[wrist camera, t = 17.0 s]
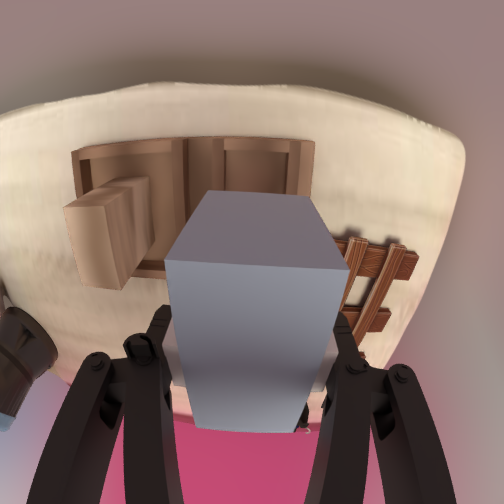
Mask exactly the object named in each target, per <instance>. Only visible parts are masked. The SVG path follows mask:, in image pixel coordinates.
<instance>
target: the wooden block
mask: <svg viewBox="0 0 504 504" xmlns="http://www.w3.org/2000/svg"><path fill="white" fill-rule="evenodd" d="M63 209H64V214H65V220H66V224H67V229H68V233H69V238H70V242H71V246H72V250H73V254H74V258H75V261H76V265H77V268H78V272H79V275H80V278H81V282H82V285H83V286H90V287H98V288H107V289H115V290H122V288H123V287H124V285H125V284H126V282H127V281H128V279H129V278H130V276H131V275H132V273H133V272H134V270H135V269H136V267H137V266H138V265H139V263H140V262H141V260H142V259H143V257H144V256H145V255H146V253H147V252H148V250H149V249H150V248H151V246H152V245H153V244H154V242H155V233H154V224H153V215H152V204H151V192H150V178H149V176H140V177H121V178H113V179H112V180H110V181H108V182H106V183H104V184H102V185H101V186H99V187H97V188H95V189H93V190H92V191H90V192H88V193H86V194H85V195H83V196H81V197H80V198H78V199H76V200H75V201H73V202H71V203H70V204H68V205H67V206H65V207H63Z"/></svg>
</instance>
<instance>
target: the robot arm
mask: <svg viewBox="0 0 504 504" xmlns="http://www.w3.org/2000/svg"><path fill="white" fill-rule="evenodd" d="M123 347H124V350H125V352H126V354H127V358H121V359H110V357H109V356H108V355H107V354H106V353H103V352H95V353H91V354H90V355H88V356H87V357H86V358H85V360H84V361H83V363H82V365H81V367H80V369H79V371H78V373H77V375H76V377H75V379H74V381H73V383H72V385H71V387H70V389H69V391H68V393H67V396H66V397H65V400H64V402H63V404H62V407H61V409H60V411H59V413H58V415H57V417H56V420H55V422H54V425H53V427H52V430H51V432H50V434H49V437H48V439H47V442H46V444H45V447H44V450H43V453H42V455H41V458H40V461H39V464H38V467H37V469H36V473H35V476H34V479H33V482H32V485H31V488H30V492H29V495H28V499H27V503H26V504H99V502H100V498H101V494H102V490H103V486H104V482H105V478H106V474H107V470H108V466H109V462H110V459H111V455H112V451H113V448H114V445H115V442H116V438H117V435H118V432H119V428H120V425H121V422H122V419H123V416H124V441H123V443H124V444H123V449H124V450H123V453H124V454H123V455H124V485H125V499H126V504H184V501H183V495H182V489H181V483H180V476H179V469H178V461H177V453H176V444H175V434H174V424H173V411H172V396H171V390H170V384H171V380H172V381H173V384H174V385H175V386H182V387H186V384H185V380H184V375H183V371H182V366H181V361H180V356H179V351H178V346H177V341H176V336H175V330H174V324H173V318H172V312H171V306H170V305H162V306H161V307H160V308H159V309H158V310H156V312H155V314H154V316H153V320H152V321H151V323H150V326H149V328H148V330H147V332H146V333H137V334H133V335H131V336H129V337H128V338H127V339H126V340H125V342H124V344H123ZM57 357H58V354H57V350H56V348H55V345H54V344H53V342H52V340H51V339H50V337H49V336H48V334H47V333H46V332H45V331H44V329H43V328H42V327H41V326H40V325H39V324H38V323H37V322H36V321H35V320H34V319H33V318H32V317H30V316H29V315H28V314H27V313H25V312H24V311H22V310H20V309H18V308H16V307H9V308H7V309H6V310H5V312H4V313H3V314H2V316H1V318H0V431H3V432H5V431H7V430H8V429H9V428H10V426H11V424H12V423H13V421H14V420H15V419H16V414H17V413H18V411H19V409H20V407H21V405H22V403H23V401H24V399H25V397H26V395H27V393H28V391H29V389H30V387H31V386H32V384H33V382H34V381H35V379H37V378H38V377H40V376H41V375H42V374H43V373H44V372H45V371H47V369H50V368H51V367H52V366H53V365H54V363H55V361H56V360H57ZM325 385H326V389H327V395H326V397H325V399H324V401H323V404H322V406H321V408H323V407H324V408H323V414H322V421H321V427H320V432H319V438H318V444H317V449H316V455H315V459H314V464H313V468H312V473H311V478H310V482H309V486H308V490H307V494H306V498H305V502H304V504H363V498H364V490H365V484H366V475H367V465H368V453H369V440H370V425H371V429H372V433H373V438H374V443H375V448H376V452H377V458H378V463H379V468H380V473H381V479H382V485H383V490H384V497H385V504H457V503H456V498H455V494H454V489H453V485H452V481H451V477H450V473H449V469H448V466H447V462H446V459H445V455H444V452H443V449H442V445H441V442H440V439H439V436H438V433H437V430H436V427H435V424H434V421H433V419H432V416H431V413H430V410H429V408H428V405H427V402H426V400H425V397H424V395H423V392H422V389H421V387H420V384H419V382H418V380H417V377H416V375H415V373H414V371H413V370H412V369H411V368H410V367H409V366H407V365H404V364H395V365H393V366H392V367H390V368H389V370H384V369H378V368H374V367H371V366H369V364H368V362H367V361H366V360H365V359H363V358H362V357H361V356H360V354H359V351H358V348H357V345H356V342H355V339H354V336H353V334H352V330H351V327H350V325H349V322H348V319H347V317H346V316H345V315H344V314H343V313H342V312H341V311H338V314H337V318H336V321H335V324H334V327H333V330H332V333H331V336H330V339H329V342H328V345H327V348H326V351H325V354H324V357H323V360H322V362H321V365H320V368H319V371H318V373H317V376H316V379H315V381H314V384H313V386H312V389H311V392H323V390H324V388H325Z"/></svg>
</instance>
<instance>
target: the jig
mask: <svg viewBox="0 0 504 504" xmlns="http://www.w3.org/2000/svg"><path fill="white" fill-rule="evenodd" d="M314 150H315V142H313V141H305V140H293V139H280V138H261V137H179V138H162V139H148V140H137V141H127V142H118V143H110V144H103V145H96V146H89V147H84V148H80V149H78V150H75V151H72V152H71V155H72V166H73V175H74V182H75V190H76V196H77V199H78V198H80V197H81V196H83V195H85V194H86V193H88V192H90V191H92V190H93V189H95V188H97V187H99V186H101V185H102V184H104V183H106V182H108V181H110V180H112V179H113V178H121V177H140V176H149V178H150V192H151V204H152V215H153V224H154V233H155V242H154V244H153V245H152V246H151V248H150V249H149V250H148V252H147V253H146V255H145V256H144V257H143V259H142V260H141V262H140V263H139V265H138V266H137V267H136V269H135V270H134V272H133V273H132V275H131V276H130V277H141V278H155V279H167V277H166V270H165V261H164V259H165V258H166V256H167V254H168V253H169V251H170V249H171V248H172V246H173V244H174V243H175V241H176V239H177V238H178V236H179V235H180V233H181V231H182V230H183V228H184V227H185V225H186V223H187V222H188V220H189V219H190V217H191V215H192V214H193V212H194V211H195V209H196V208H197V206H198V205H199V203H200V202H201V200H202V199H203V197H204V196H205V194H206V193H207V191H208V190H214V191H239V192H257V193H273V194H287V195H299V196H309V198H310V193H311V183H312V173H313V162H314Z"/></svg>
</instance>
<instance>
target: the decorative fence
mask: <svg viewBox="0 0 504 504" xmlns="http://www.w3.org/2000/svg"><path fill="white" fill-rule="evenodd" d="M334 241H335V243H336V245H337V247H338V249H339V250H340V252H341V254H342V256H343V258H344V260H345V262H346V264H347V265H348V267H349V269H350V272H349V276H348V279H347V283H346V287H345V290H344V294H343V297H342V301H341V304H340V308H339V311H341V312H342V313H343V314H344V315H345V316H346V317H347V319H348V322H349V325H350V327H351V330H352V334H353V336H354V339H355V342H356V345H357V348H358V346H359V345H360V343H361V341H362V339H363V338H364V336H365V334H366V332H382V330H383V328H384V327H385V325H386V323H387V321H388V320H389V318H390V316H391V314H392V313H391V312H390V310H389V309H384V308H380V306H381V304H382V302H383V300H384V298H385V296H386V294H387V292H388V290H389V287H390V285H391V283H392V281H393V279H397V280H409V279H410V277H411V274H412V272H413V270H414V268H415V266H416V263H417V261H418V259H419V256H418V255H417V254H416V253H415V252H411V251H406V249H407V248H406V247H405V246H404V245H400V244H394V243H391V244H390V247H389V248H386V247H380V246H374V245H368V243H369V241H368V240H367V239H365V238H359V237H353V236H351V237H350V238H349V241H341V240H334ZM356 276H364V277H375V278H376V281H375V283H374V285H373V287H372V290H371V292H370V294H369V296H368V298H367V300H366V303H365V305H364V307H363V308H351V307H343V306H344V304H345V301H346V299H347V297H348V294H349V292H350V290H351V287H352V285H353V282H354V280H355V277H356ZM359 354H360V356H361V357H362V358H363V359H365V358H366V356H365V354H364V352H359Z"/></svg>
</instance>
